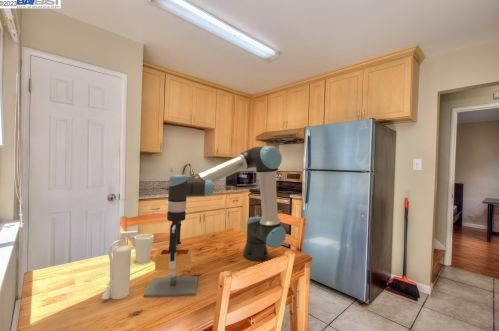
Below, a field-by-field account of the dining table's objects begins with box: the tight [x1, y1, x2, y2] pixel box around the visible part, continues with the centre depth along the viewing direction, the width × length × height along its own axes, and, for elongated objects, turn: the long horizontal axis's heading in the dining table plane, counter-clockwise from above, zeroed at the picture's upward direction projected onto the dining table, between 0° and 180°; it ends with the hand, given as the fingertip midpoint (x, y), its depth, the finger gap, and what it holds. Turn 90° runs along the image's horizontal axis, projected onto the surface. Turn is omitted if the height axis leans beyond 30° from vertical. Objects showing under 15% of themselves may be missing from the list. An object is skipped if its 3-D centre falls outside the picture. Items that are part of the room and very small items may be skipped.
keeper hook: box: [169, 270, 178, 286], centre depth 100 cm, size 5×2×10 cm, turn 99°
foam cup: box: [133, 233, 155, 264], centre depth 125 cm, size 10×9×13 cm
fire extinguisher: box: [101, 230, 139, 300], centre depth 92 cm, size 7×12×25 cm, turn 144°
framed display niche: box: [154, 247, 193, 272], centre depth 101 cm, size 14×8×6 cm, turn 99°
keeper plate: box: [143, 275, 199, 298], centre depth 101 cm, size 20×14×1 cm
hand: (173, 263), depth 100 cm, fingers closed on framed display niche, 8 cm apart
